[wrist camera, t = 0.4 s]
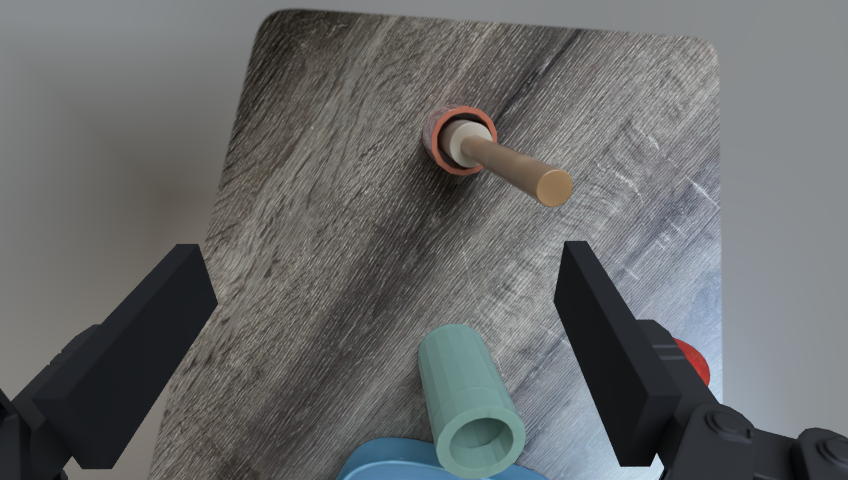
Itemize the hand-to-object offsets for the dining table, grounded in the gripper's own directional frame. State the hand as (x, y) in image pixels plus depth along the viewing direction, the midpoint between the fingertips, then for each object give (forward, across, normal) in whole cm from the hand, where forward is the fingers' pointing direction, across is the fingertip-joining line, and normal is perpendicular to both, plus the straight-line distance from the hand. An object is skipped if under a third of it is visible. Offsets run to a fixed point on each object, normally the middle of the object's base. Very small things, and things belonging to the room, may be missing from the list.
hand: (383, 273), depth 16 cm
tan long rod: (+28, +4, -4) cm, 29 cm away
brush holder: (+29, +4, -4) cm, 30 cm away
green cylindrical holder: (+24, +4, -29) cm, 38 cm away
